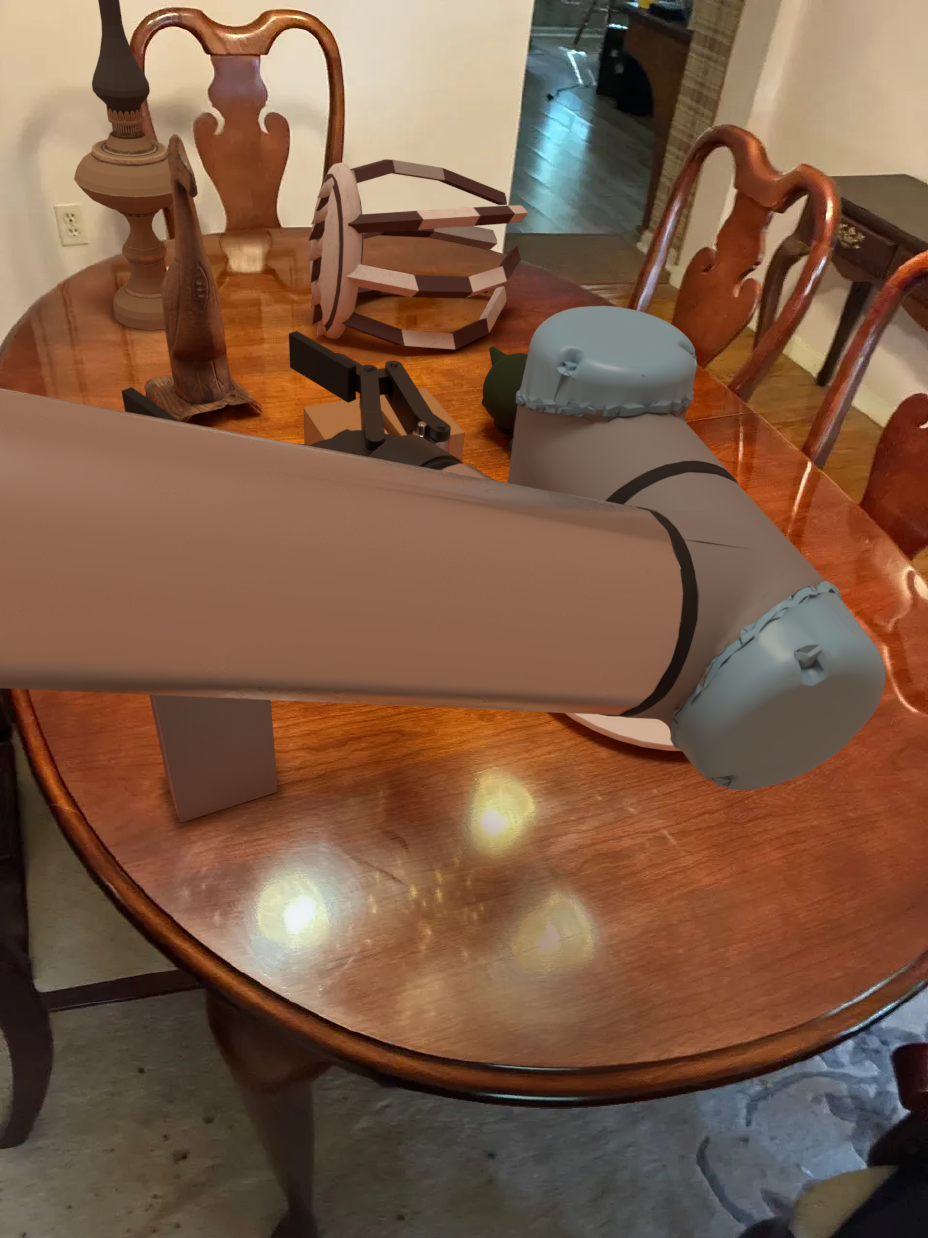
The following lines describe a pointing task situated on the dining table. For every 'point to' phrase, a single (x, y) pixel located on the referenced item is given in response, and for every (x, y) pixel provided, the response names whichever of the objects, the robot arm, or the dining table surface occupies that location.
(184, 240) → the bird sculpture
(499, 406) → the toy figurine
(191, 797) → the grey rectangular block
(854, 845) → the dining table surface
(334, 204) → the toppled wooden stool
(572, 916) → the dining table surface
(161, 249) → the oil lamp
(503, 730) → the dining table surface
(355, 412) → the matching brown boxes
